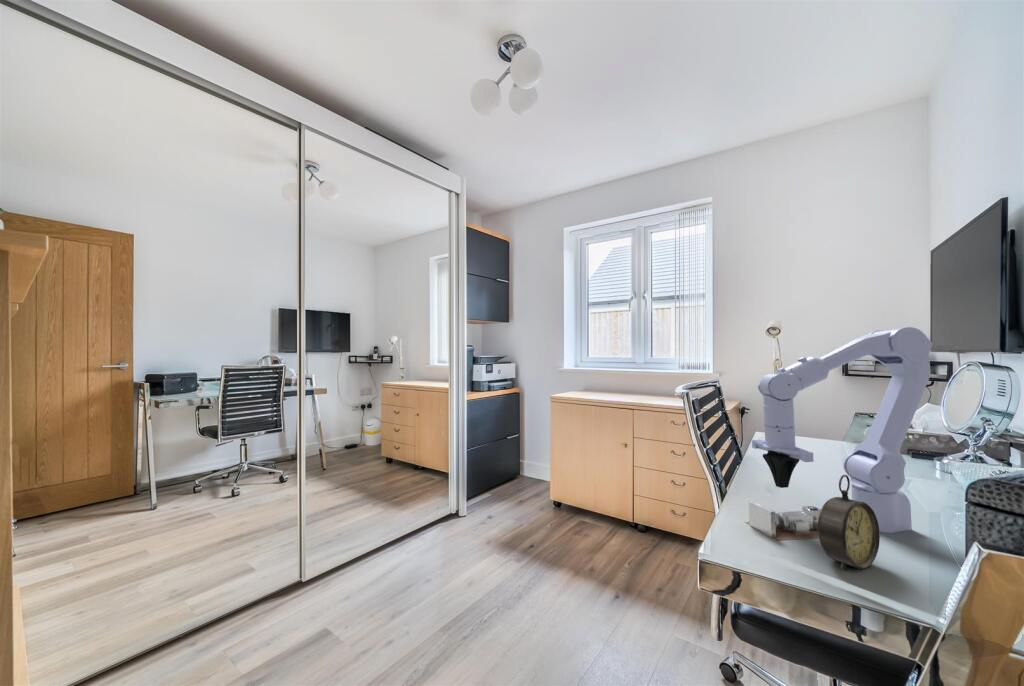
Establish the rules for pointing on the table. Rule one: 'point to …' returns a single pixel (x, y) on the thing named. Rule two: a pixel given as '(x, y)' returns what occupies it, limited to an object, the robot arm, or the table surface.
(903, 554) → the table surface
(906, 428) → the robot arm
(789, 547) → the table surface
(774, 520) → the square plate with knob
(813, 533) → the board
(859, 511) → the alarm clock
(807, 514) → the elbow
